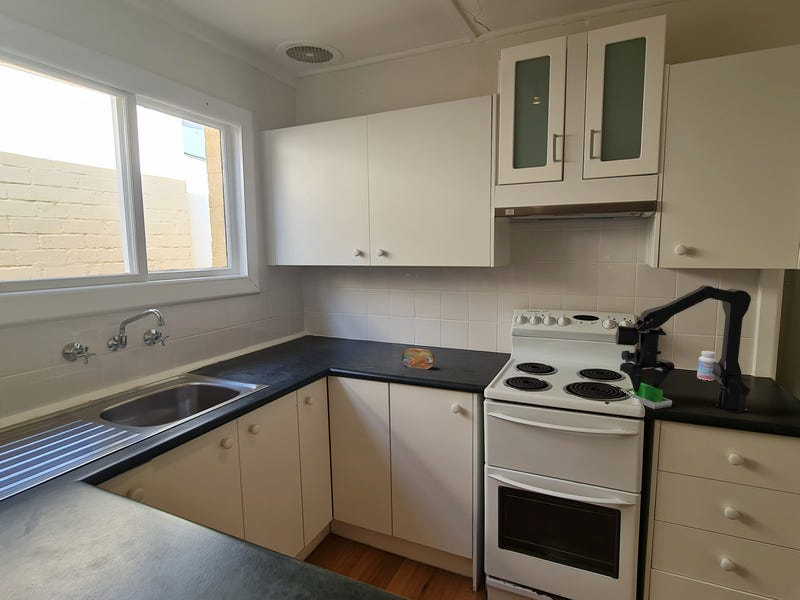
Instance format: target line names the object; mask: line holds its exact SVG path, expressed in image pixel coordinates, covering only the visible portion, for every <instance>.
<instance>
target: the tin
mask: <svg viewBox="0 0 800 600" xmlns="http://www.w3.org/2000/svg"><path fill="white" fill-rule="evenodd" d="M401 361H402V364H404V366H406V367H407V368H411V369H418V370H419V369H420V370H429V369H430V368H432V367H433V366H434V365H435V363H436V362H435V361H436V357H435V354H434V353H433V352H432V351H431V350H429V349H420V348H414V347H413V348H412V347H410V348H407V349H404V351H402V354H401Z"/></svg>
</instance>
